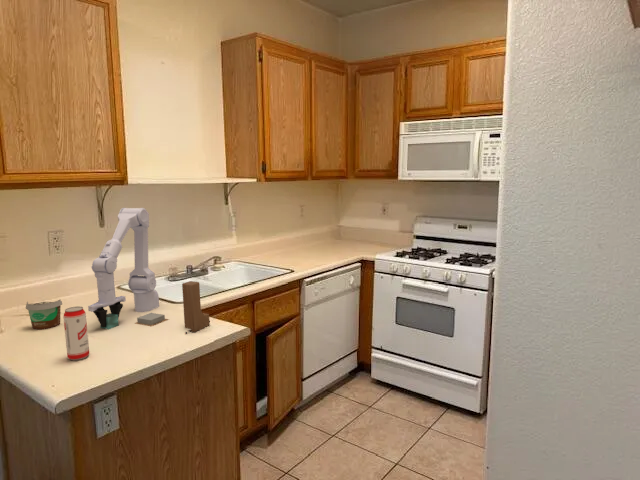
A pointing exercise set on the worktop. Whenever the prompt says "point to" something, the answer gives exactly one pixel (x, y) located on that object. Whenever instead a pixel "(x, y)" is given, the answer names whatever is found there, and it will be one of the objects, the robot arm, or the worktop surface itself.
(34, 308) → the food container
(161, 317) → the top slab
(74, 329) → the beer can
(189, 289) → the wooden block
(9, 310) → the worktop surface
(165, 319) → the base slab
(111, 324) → the block
